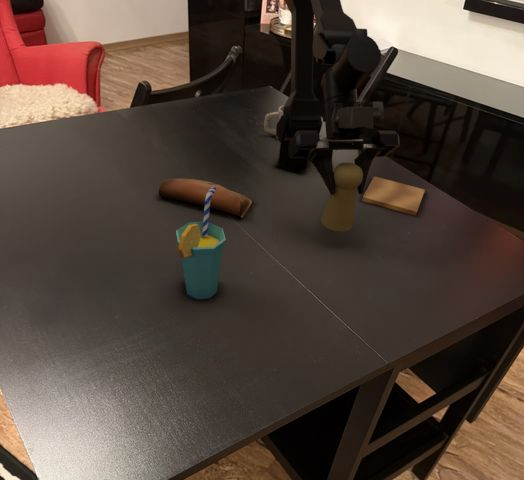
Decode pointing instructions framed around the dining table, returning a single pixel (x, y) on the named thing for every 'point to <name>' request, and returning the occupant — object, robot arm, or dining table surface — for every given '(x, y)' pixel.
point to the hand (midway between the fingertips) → (346, 194)
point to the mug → (276, 115)
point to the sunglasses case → (197, 194)
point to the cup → (201, 254)
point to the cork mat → (394, 195)
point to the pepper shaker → (342, 198)
